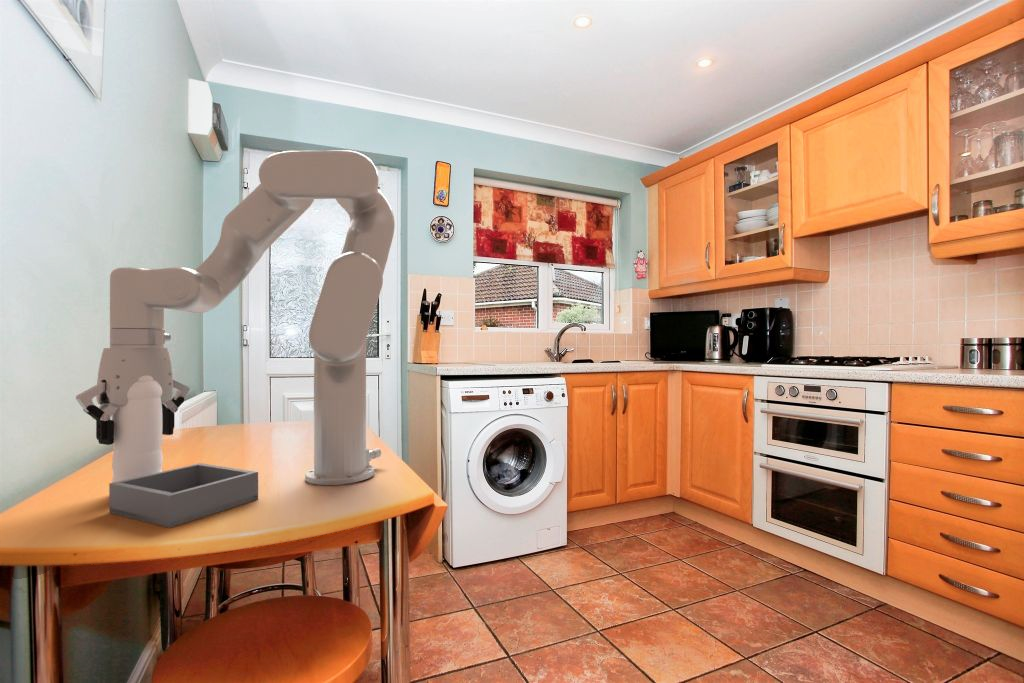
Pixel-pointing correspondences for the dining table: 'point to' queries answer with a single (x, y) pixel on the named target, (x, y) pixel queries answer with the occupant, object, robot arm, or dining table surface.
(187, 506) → the tray
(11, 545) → the dining table surface
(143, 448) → the water bottle
